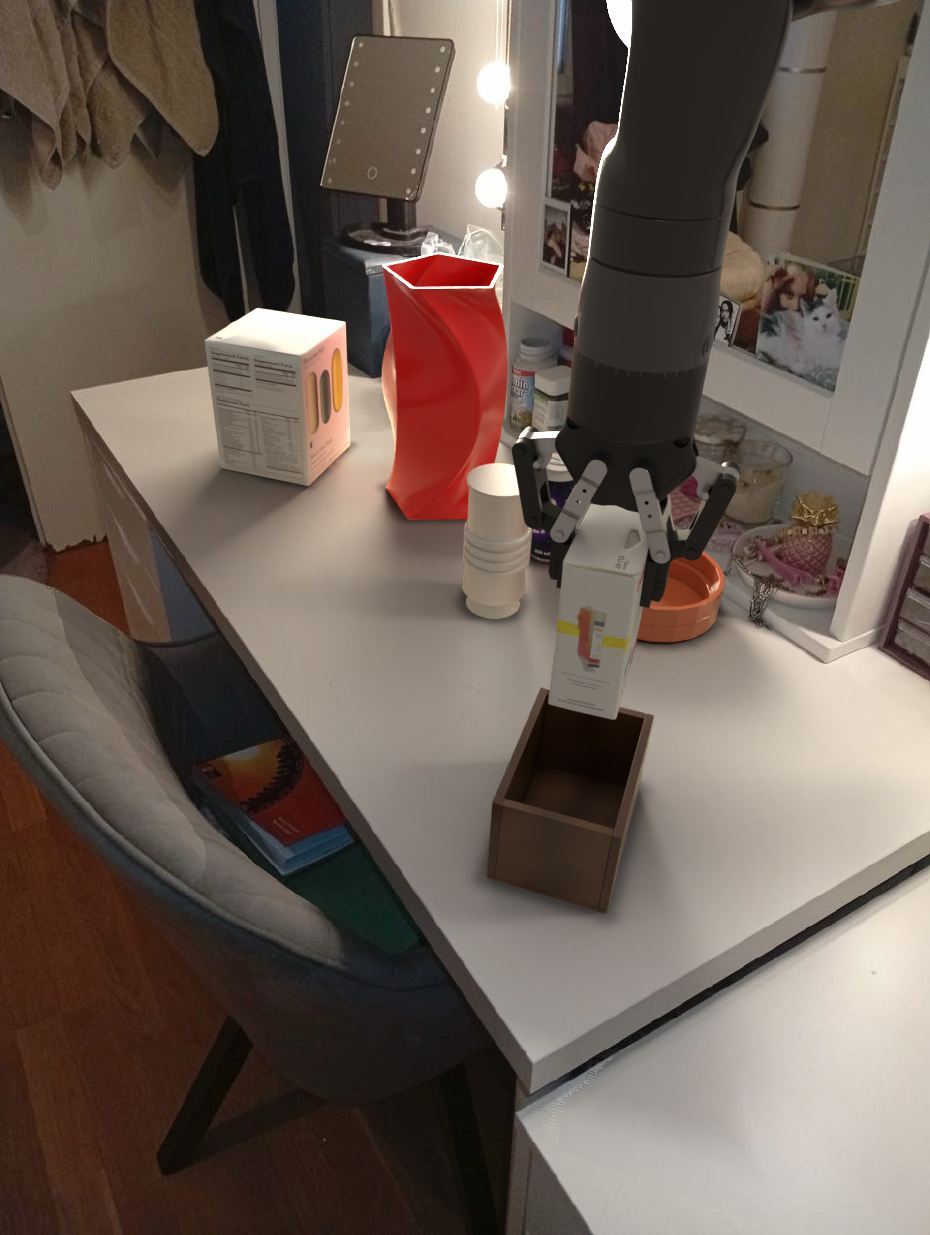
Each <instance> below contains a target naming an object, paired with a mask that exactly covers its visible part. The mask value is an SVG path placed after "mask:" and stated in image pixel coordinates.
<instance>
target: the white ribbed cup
mask: <svg viewBox="0 0 930 1235" xmlns="http://www.w3.org/2000/svg"><path fill="white" fill-rule="evenodd" d="M467 485H468V487H469V502H468V519H466V521H465V523H464V525H463V532H464V533H463V546H462V548H463V554H462V562H463V564H464V570H463V577H462V583H461V585H462V586H461V587H462V588H461V590H462V591H463V593H464V594H465V595H466V599H465V606H466V608H467V610H468V611H470V612H471V613H472V614H474V615H476V616H477V617H480V618H482V619H483V618H484V619H488V620H500V619H505V618H509V617H511V616H513V615H514V614H516V613H517V612H518V611H519V609H520V606H521V603H520V602H521V601H520V600H521V599H522V598H523V596H525V593H526V582H527V581H526V569H527V568H528V565H529V564H530V558H531V554H530V550H531V539H532V529H531V528H529V527H528V526H527V525H526V524H525V522H524V517H523V512H522V506H521V501H520V495H519V490H518V484H517V478H516V473H515V467H514V464H509V463H500V462H497V463H496V462H495V463H493V464H485V465H481V466H478V467H476V468H474V469H472V470H471V471H470V472H469V473H468V475H467Z"/></svg>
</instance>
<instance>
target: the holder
mask: <svg viewBox="0 0 930 1235" xmlns="http://www.w3.org/2000/svg"><path fill="white" fill-rule="evenodd" d="M549 692H550V688H545V687H540V688H539V691H538V693H537V696H536V698H535V700H534V703H533V704H532V707H531V709H530V712H529V714H528V717H527V719H526V721H525V724H524V726H523V729H522V731H521V733H520V735H519V739H518V740H517V743H516V745H515V747H514V749H513V752H512V755H511V756H510V760H509V762H508V764H507V766H506V768H505V771H504V773H503V776H502V778H501V780H500V783H499V786H498V788H497V789H496V792H495V794H494V797H493V800H492V802H491V814H490V824H489V826H490V827H489V839H488V853H487V867H486V878H487V879H489V880H493V881H496V882H499V883H502V884H506V885H510V886H512V887H516V888H520V889H522V890H525V891H526V890H527V891H530V892H533V893H536V894H539V895H543V896H546V897H549V898H553V899H556V900H560V901H563V902H566V903H570V904H573V905H576V906H580V907H583V908H586V909H589V910H593V911H596V912H599V913H602V914H608V911H609V906H610V903H611V899H612V896H613V895H612V894H613V891H614V887H615V884H616V879H617V876H618V872H619V868H620V864H621V861H622V855H623V852H624V848H625V844H626V840H627V837H628V833H629V829H630V826H631V825H630V824H631V821H632V818H633V813H634V809H635V805H636V801H637V797H638V794H639V789H640V785H641V782H642V775H643V771H644V767H645V762H646V756H647V751H648V749H649V743H650V738H651V734H652V728H653V725H654V724H653V723H654V719H655V715H654V714H652V713H651V714H650V713H646V712H643V711H639V710H636V709H635V710H634V709H630V708H626V707H624V706H623V707H622V706H620V707H619V710H618V714H617V718H616V719H615V720H612V719H608V718H604V717H599V716H595V715H590V714H586V713H582V712H577V711H573V710H569V709H565V708H561V707H557V706H554V705H550V704H549V703H548V700H549Z"/></svg>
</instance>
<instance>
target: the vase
mask: <svg viewBox="0 0 930 1235" xmlns="http://www.w3.org/2000/svg"><path fill="white" fill-rule="evenodd" d="M504 266H505V265H504V264H501V263H495V262H489V261H485V260H480V259H475V258H469V257H464V256H459V255H455V254H449V253H444V252H434V253H429V254H426V255H422V256H418V257H412V258H408V259H404V260H399V261H394V262H390V263H385V264H382V266H381V267H382V273H383V279H384V285H385V292H386V299H387V305H388V306H387V307H388V314H389V322H390V331H389V333H388V336H387V340H386V343H385V347H384V353H383V357H382V366H381V387H382V388H381V389H382V395H383V400H384V405H385V408H386V411H387V415H388V419H389V422H390V427H391V430H392V431H391V432H392V437H393V447H394V456H393V464H392V468H391V472H390V476H389V478H388V482H387V484H386V486H385V489H386V490H387V492H388V494H390V496H391V497H392V499H393V500H394V502H395V503H396V504H397V506H398V507H399V509H400V510H401V511H402V513H403V515H404V516H405V517H406V519H407V520H409V521H416V520H417V521H418V520H468V502H469V487H468V485H467V475H468V473H469V472H470V471H471V470H472V469H474V468H476V467H478V466H481V465H485V464H493V463H496V459H497V455H498V449H499V445H500V440H501V436H502V431H503V424H504V419H505V418H504V417H505V410H506V402H507V394H508V393H507V392H508V376H509V375H508V374H509V373H508V371H509V370H508V369H509V367H508V366H509V364H508V363H509V362H508V361H509V360H508V358H509V357H508V343H507V334H506V328H505V327H506V326H505V322H504V318H503V312H502V310H501V306H500V302H499V299H498V296H497V290H496V284H497V280H498V277H499V275H500V273H501V271H502V270H503V268H504Z"/></svg>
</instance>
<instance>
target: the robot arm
mask: <svg viewBox="0 0 930 1235" xmlns="http://www.w3.org/2000/svg"><path fill="white" fill-rule="evenodd" d="M901 1H902V0H606V3H607V9H608V14H609V17H610V19H611V23H612V25H613V27H614V30H615V31H616V33H617V35H618V37H619V38H620V40H621V41H622V42H623V43H624V45H625V46H626V47H627V48H628V54H627V55H628V56H627V64H626V72H625V78H624V83H623V84H624V85H623V89H622V90H623V92H622V97H621V105H620V112H619V118H618V119H619V121H618V129H617V131H616V135H615V136H614V137H613V138H612V139H611V140H610V141H609V142H608V144H607V145H606V146H605V149H604V151H603V153H602V156H601V160H600V163H599V168H598V172H597V177H596V183H595V192H594V199H593V206H592V214H591V226H590V233H589V243H588V244H589V245H588V253H587V260H586V265H585V269H584V274H583V278H582V280H581V286H580V291H579V295H578V302H577V303H578V304H577V312H576V315H575V317H574V323H573V337H574V340H573V349H572V358H571V368H570V377H569V385H568V386H569V388H568V396H567V397H568V398H567V406H566V414H565V421H564V423H563V425H562V426H561V427H560V429H559V431H543V432H540V430H539V429H538V428H536V427H535V426H527V427H525V428H524V429H523V431H522V432H521V433H520V434H519V436H518V437H517V439H516V440H515V442H514V443H513V446H512V447H511V456H512V462H513V465H514V467H515V473H516V478H517V484H518V490H519V495H520V501H521V506H522V512H523V517H524V522H525V524H526V525H527V526H528V527H529V528H531V529H537V528H541V529H542V530H544V531H546V532H547V533H548V534H549V535H550V537H551V540H552V543H551V553H550V562H548V563H549V564H548V575H549V578H550V580H552V581H553V580H554V581H556V585H555V588H556V589H557V590H561V581H562V571H563V561H564V558H565V556H566V554H567V552H568V550H569V548H570V546H571V544H572V542H573V540H574V538H575V536H576V534H577V531H578V530H579V528H577V524H578V522H579V520H580V519H581V517H582V516H583V514H584V512H585V511H586V509H587V507H588V506H589V504H590V505H591V504H596V505H601V506H610V505H612V506H617V507H621V508H623V509H625V510H627V511H632V512H637V513H639V516H640V521H641V525H642V529H643V532H644V533H646V536H647V541H648V545H649V550H650V553H649V556H648V559H647V562H646V568H645V573H644V579H643V585H642V592H641V598H640V605H639V606H641V607H645V608H650V605H651V602H652V601H656V602H659V601H660V600H661V598H662V597H663V595H664V592H665V588H666V585H667V580H668V575H669V570H670V564H671V561H673V560H674V559H676V558H683V557H684V558H685V559H687V560H691V561H694V560H697V559H699V558H700V556H701V554H702V553H703V552H705V549H706V547H707V545H708V543H709V542H710V540H711V538H712V536H713V534H714V532H716V529H717V527H718V525H719V523H720V521H721V520H722V518H723V516H724V514H725V512H726V510H727V509H728V507H729V505H730V503H731V501H732V500H733V497H734V496H735V494H736V492H737V489H738V483H739V478H740V474H741V467H740V465H739V464H738V463H737V462H735V461H731V460H730V461H729V460H728V461H725V462H723V463H722V464H719V463H717V462H714V461H712V460H709V459H707V458H705V457H703V456H700V452H699V449H698V445H697V444H696V439H695V433H696V427H697V422H698V417H699V412H700V406H701V402H702V397H703V391H704V387H705V381H706V375H707V371H708V366H709V361H710V356H711V351H712V348H713V344H714V335H715V330H716V326H717V320H718V316H719V315H718V314H719V308H720V298H721V297H720V296H721V279H722V271H723V261H724V256H725V252H726V246H727V241H728V236H729V231H730V226H731V220H732V216H733V210H734V207H735V199H736V194H737V185H738V184H737V183H738V177H739V175H740V170H741V168H742V166H743V162H744V160H745V158H746V155H747V153H748V151H749V149H750V147H751V144H752V142H753V140H754V137H755V135H756V132H757V129H758V126H759V124H760V121H761V119H762V116H763V113H764V110H765V107H766V104H767V101H768V99H769V96H770V93H771V90H772V87H773V85H774V82H775V78H776V76H777V73H778V71H779V68H780V64H781V61H782V58H783V56H784V55H783V54H784V52H785V48H786V44H787V40H788V38H789V37H788V36H789V32H790V29H791V23H794V22H797V21H800V20H802V19H805V18H808V17H812V16H815V15H818V14H821V13H827V12H834V11H860V10H861V11H862V10H868V9H874V8H879V7H883V6H887V5H891V4H894V3H898V2H901ZM555 451H557V453H558V455H559V456H560V458H561V460H562V461H563V463H564V465H565V467H566V468H567V470H568V472H569V473H570V475H571V477H572V478H573V480H574V482H575V484H576V485H575V487H574V489H573V490H572V492H571V494H570V496H569V498H568V499H567V501H566V503H565V505H564V507H563V508H562V509H561V508H560V507H558V506H556V505H554V504H552V502H551V496H550V489H549V483H548V477H547V471H546V467H547V465H548V464H549V462H550V460H551V459H552V453H553V452H555ZM691 477H693V478H694V479H695V480H696V483H697V487H696V495H697V497H698V498H699V499H701V500H702V501H701V503H700V505H699V507H698V509H697V510H696V512H695V514H694V516H693V519H692V520H691V522H690V524H689V526H688V528H686V529H677V530H676V528H675V523H674V518H673V514H672V499H671V495H670V494H671V493H673V491H674V490H676V489H677V488H678V487H679V486H681V484H683V483H684V482H685V481H686V480H688V479H689V478H691Z"/></svg>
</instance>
